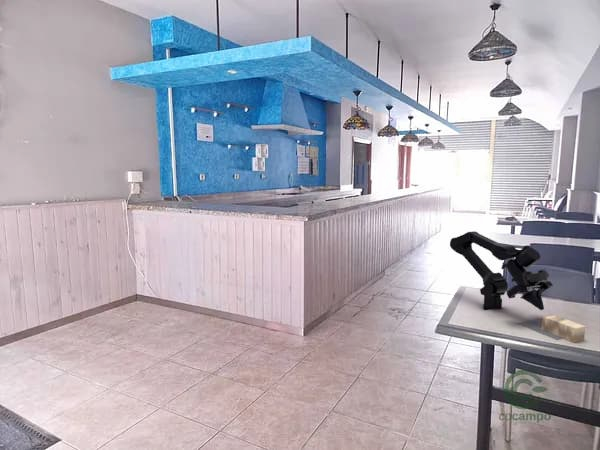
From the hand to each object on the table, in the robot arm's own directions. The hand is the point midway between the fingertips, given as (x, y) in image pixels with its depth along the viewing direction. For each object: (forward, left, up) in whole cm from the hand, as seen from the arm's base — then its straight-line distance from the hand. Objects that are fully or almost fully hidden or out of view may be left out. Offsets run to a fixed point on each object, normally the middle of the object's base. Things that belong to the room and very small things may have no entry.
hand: (542, 309), depth 147 cm
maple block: (+1, -1, -4) cm, 5 cm away
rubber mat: (+2, -2, -7) cm, 8 cm away
